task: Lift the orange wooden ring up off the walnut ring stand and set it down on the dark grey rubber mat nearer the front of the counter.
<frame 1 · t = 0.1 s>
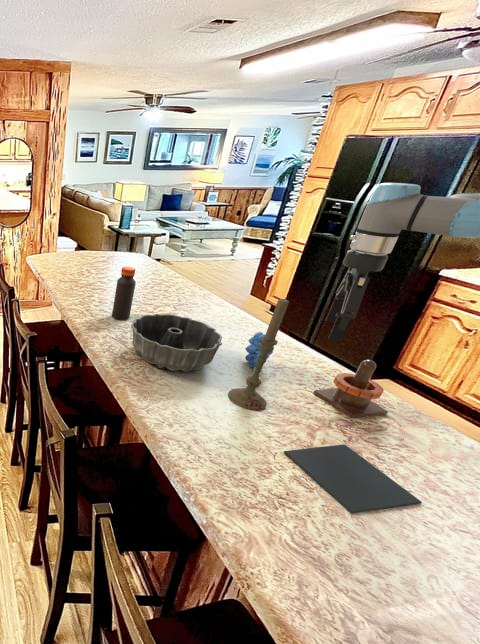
hand: (333, 330, 102), 19 cm above the countertop, tool pointing down, fingers open, 13 cm apart
bundt pan: (168, 358, 125), on the countertop
mat: (347, 476, 81), on the countertop
stand: (348, 403, 105), on the countertop
bottle: (120, 317, 153), on the countertop
grapes: (254, 367, 121), on the countertop
ring: (356, 388, 102), point 5 cm above the countertop, touching stand
candlestick holder: (246, 400, 105), on the countertop
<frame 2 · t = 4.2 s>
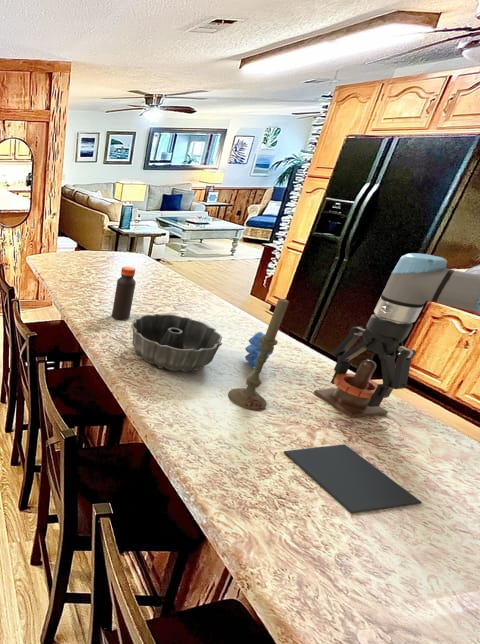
hand: (353, 393, 103), 3 cm above the countertop, tool pointing down, fingers closed on ring, 10 cm apart
ring: (356, 388, 102), point 5 cm above the countertop, touching gripper, stand
everything else where it was.
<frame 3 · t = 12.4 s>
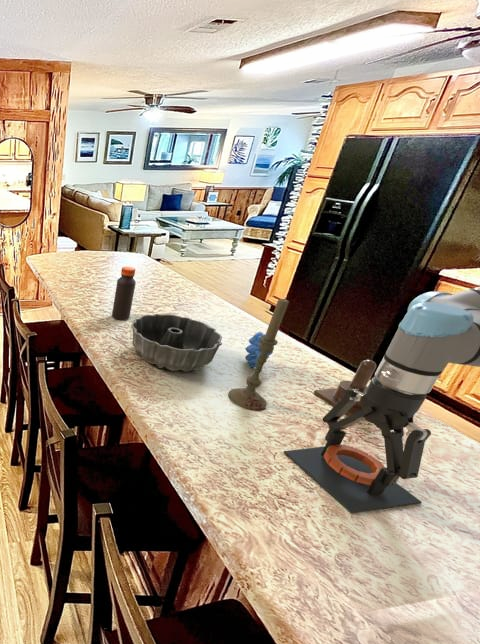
hand: (349, 473, 81), 1 cm above the countertop, tool pointing down, fingers closed on ring, 10 cm apart
ring: (353, 466, 80), point 3 cm above the countertop, touching gripper
everything else where it was.
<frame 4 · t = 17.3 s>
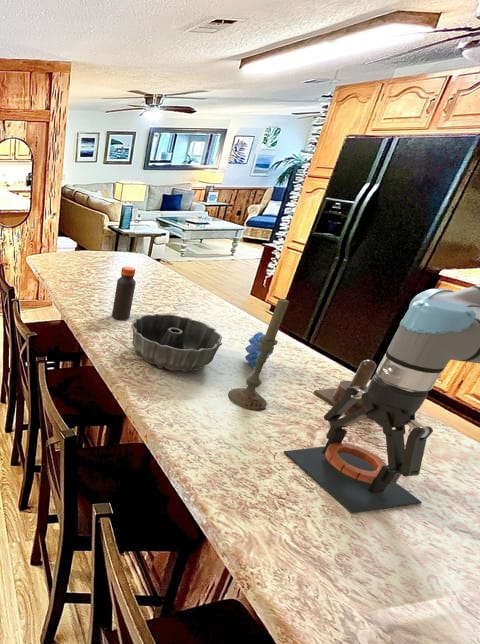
hand: (350, 471, 81), 2 cm above the countertop, tool pointing down, fingers closed on ring, 9 cm apart
ring: (354, 464, 80), point 3 cm above the countertop, touching gripper
everything else where it was.
when the fingers open (2 cm above the countertop, at t = 22.1 s): ring drops 3 cm, resting on mat.
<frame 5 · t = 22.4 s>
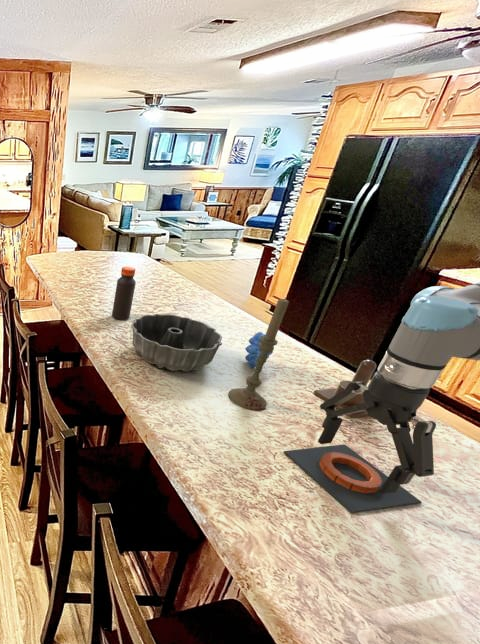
hand: (353, 465, 80), 3 cm above the countertop, tool pointing down, fingers open, 13 cm apart
ring: (348, 474, 81), resting on mat
everything else where it was.
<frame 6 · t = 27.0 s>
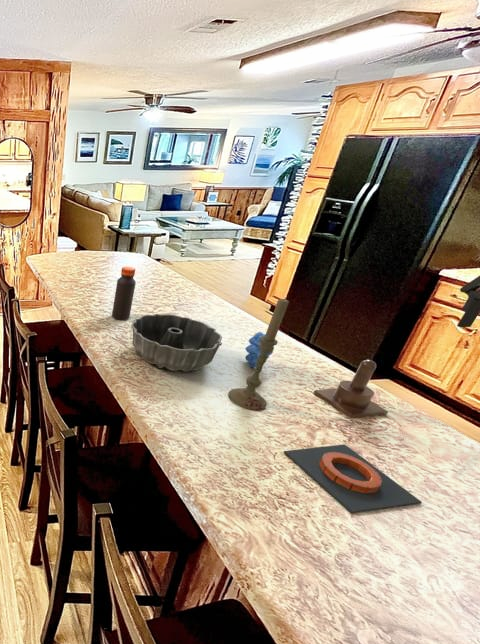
nothing on the countertop moved.
at the end: ring inside the target area on the mat (0.0 cm from its centre), point 0.5 cm above the mat's base; ring touching mat; the gripper is holding nothing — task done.
